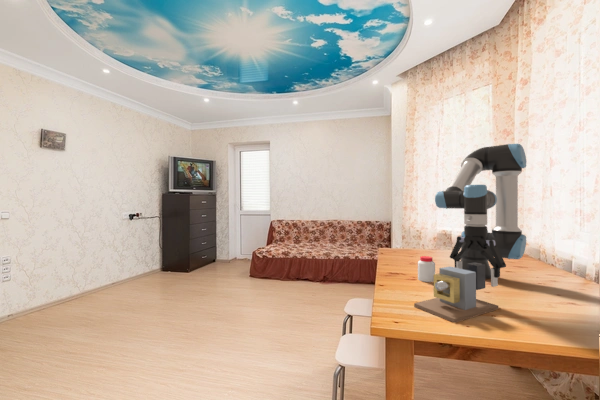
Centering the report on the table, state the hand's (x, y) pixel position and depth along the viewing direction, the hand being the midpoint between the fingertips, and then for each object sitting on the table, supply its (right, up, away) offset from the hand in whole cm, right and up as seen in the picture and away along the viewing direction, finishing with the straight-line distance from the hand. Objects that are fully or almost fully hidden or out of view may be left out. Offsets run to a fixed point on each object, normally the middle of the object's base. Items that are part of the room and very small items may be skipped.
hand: (475, 281), depth 111 cm
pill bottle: (-5, -8, +31) cm, 32 cm away
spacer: (-15, -4, -8) cm, 17 cm away
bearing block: (-10, -8, -5) cm, 13 cm away
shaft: (-8, -2, -4) cm, 9 cm away
